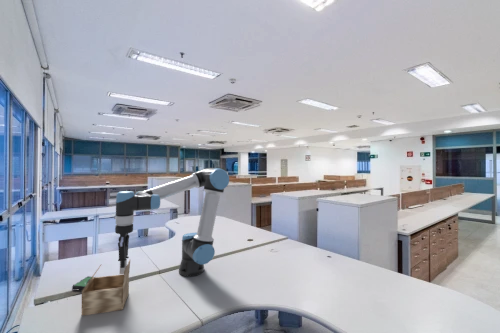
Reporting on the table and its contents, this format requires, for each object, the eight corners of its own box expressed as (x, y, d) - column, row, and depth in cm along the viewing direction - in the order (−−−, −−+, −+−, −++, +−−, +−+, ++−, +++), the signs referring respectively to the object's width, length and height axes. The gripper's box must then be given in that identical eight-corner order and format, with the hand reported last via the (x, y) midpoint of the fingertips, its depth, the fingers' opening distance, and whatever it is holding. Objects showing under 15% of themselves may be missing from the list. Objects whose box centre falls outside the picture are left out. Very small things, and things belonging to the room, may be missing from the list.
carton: (128, 292, 121) (129, 273, 121) (122, 310, 107) (122, 288, 107) (92, 297, 117) (92, 277, 116) (81, 316, 102) (81, 293, 102)
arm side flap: (129, 273, 121) (130, 259, 121) (123, 286, 108) (124, 271, 108) (128, 273, 120) (129, 259, 120) (122, 286, 107) (124, 271, 108)
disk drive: (111, 283, 132) (87, 280, 133) (112, 278, 131) (87, 275, 133) (97, 293, 121) (71, 290, 123) (97, 288, 121) (71, 285, 123)
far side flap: (81, 291, 103) (91, 276, 104) (92, 276, 116) (101, 264, 117) (82, 291, 103) (92, 277, 104) (92, 277, 116) (101, 264, 117)
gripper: (118, 220, 118) (117, 268, 119) (111, 228, 106) (110, 280, 106) (135, 220, 121) (134, 266, 121) (130, 227, 108) (129, 278, 108)
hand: (123, 273), depth 114 cm, fingers closed
